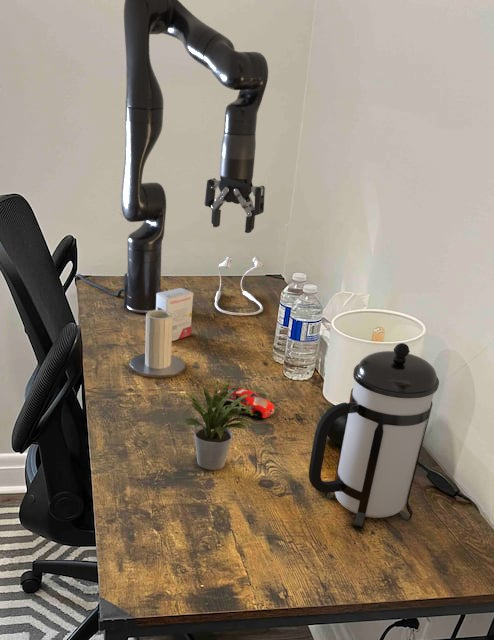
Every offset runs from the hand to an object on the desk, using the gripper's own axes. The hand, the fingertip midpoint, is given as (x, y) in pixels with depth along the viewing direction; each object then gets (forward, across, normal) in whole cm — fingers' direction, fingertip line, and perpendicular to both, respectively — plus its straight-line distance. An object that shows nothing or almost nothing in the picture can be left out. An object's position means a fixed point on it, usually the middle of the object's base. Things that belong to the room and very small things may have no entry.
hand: (231, 229), depth 173 cm
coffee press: (+28, -56, +52) cm, 81 cm away
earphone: (+28, +11, -28) cm, 41 cm away
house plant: (+28, -27, +55) cm, 67 cm away
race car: (+28, -22, +30) cm, 47 cm away
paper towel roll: (+27, +5, +23) cm, 36 cm away
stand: (+28, +5, +23) cm, 37 cm away
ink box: (+28, +12, +5) cm, 31 cm away
